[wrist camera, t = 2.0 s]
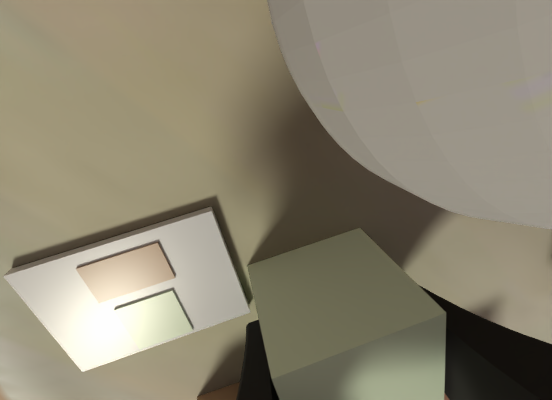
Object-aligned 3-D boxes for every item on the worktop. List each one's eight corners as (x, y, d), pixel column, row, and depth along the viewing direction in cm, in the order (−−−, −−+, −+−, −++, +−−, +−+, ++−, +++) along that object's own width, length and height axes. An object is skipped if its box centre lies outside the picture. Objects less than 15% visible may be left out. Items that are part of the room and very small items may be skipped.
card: (211, 206, 11) (211, 211, 10) (249, 305, 13) (250, 314, 12) (10, 269, 10) (1, 278, 9) (86, 363, 12) (81, 374, 11)
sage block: (359, 227, 12) (446, 312, 8) (370, 310, 15) (443, 415, 10) (247, 264, 12) (271, 379, 7) (275, 345, 14) (308, 472, 10)
